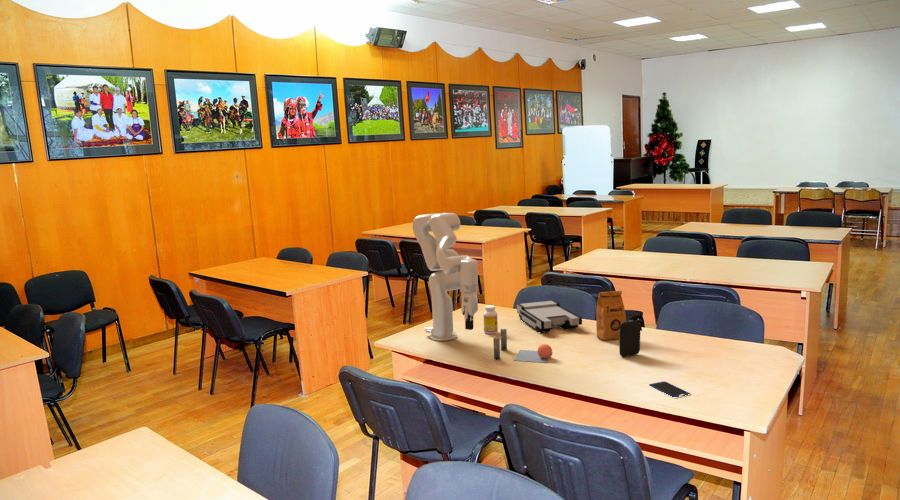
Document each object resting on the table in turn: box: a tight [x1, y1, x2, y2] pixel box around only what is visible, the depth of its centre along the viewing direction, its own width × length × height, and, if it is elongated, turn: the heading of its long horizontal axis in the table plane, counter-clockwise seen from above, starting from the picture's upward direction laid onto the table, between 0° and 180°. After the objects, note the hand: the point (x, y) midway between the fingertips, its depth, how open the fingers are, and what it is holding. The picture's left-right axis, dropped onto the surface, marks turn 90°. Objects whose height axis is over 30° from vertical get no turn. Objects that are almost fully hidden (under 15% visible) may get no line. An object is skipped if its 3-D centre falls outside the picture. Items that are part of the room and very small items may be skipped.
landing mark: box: [513, 349, 551, 364], centre depth 255 cm, size 14×14×1 cm
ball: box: [536, 343, 553, 359], centre depth 252 cm, size 6×6×6 cm
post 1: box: [492, 336, 501, 361], centre depth 253 cm, size 3×3×9 cm
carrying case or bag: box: [618, 319, 643, 358], centre depth 251 cm, size 11×3×15 cm, turn 111°
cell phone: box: [648, 381, 691, 398], centre depth 215 cm, size 7×14×1 cm, turn 21°
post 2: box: [500, 328, 508, 352], centre depth 265 cm, size 3×3×9 cm
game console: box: [516, 300, 583, 333], centre depth 301 cm, size 21×32×8 cm, turn 14°
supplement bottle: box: [482, 304, 499, 335], centre depth 292 cm, size 7×7×13 cm
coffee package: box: [595, 290, 627, 341], centre depth 275 cm, size 10×12×22 cm
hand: (469, 328), depth 263 cm, fingers closed
